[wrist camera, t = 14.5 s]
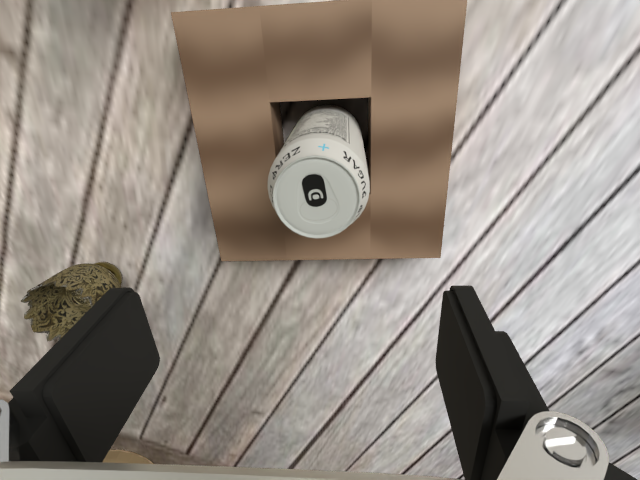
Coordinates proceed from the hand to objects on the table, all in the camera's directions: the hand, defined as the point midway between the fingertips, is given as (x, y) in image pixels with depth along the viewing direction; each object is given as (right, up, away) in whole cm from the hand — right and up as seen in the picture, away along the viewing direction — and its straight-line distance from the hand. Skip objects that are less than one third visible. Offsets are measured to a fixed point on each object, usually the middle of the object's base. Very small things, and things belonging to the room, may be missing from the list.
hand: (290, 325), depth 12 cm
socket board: (+1, +12, +22) cm, 25 cm away
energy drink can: (+2, +12, +23) cm, 26 cm away
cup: (-23, -1, +31) cm, 39 cm away
